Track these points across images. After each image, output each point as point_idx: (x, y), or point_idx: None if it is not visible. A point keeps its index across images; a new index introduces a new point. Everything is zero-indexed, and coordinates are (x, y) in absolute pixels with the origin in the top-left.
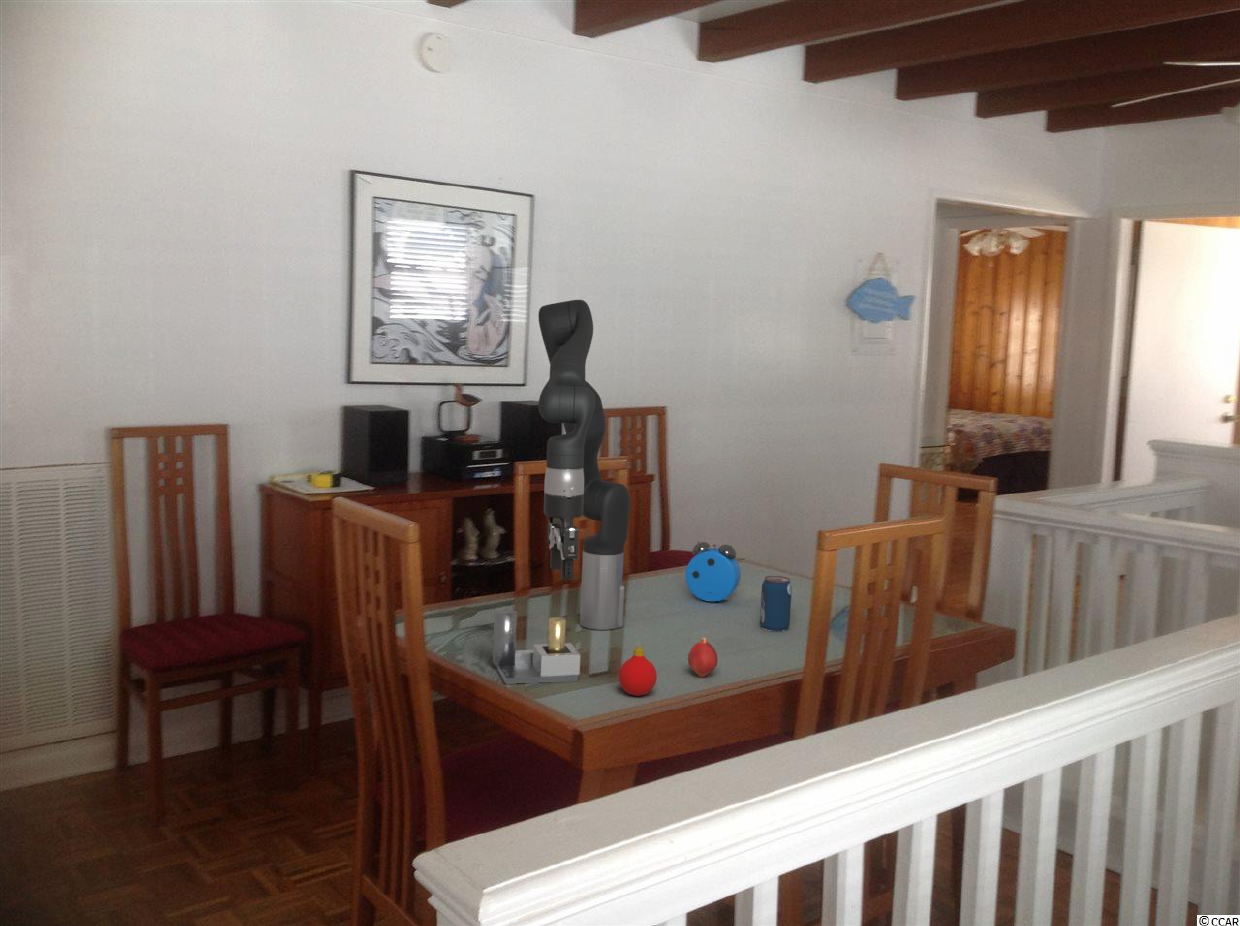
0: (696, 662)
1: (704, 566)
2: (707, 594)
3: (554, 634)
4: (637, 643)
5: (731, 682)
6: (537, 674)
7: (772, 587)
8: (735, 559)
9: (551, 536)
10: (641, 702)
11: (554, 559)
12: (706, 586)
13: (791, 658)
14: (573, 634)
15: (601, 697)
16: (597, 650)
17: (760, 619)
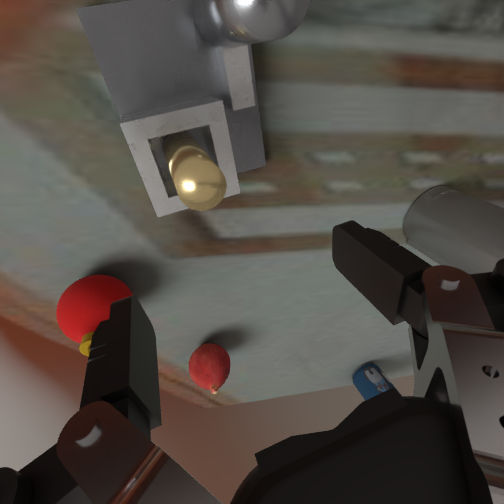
0: (191, 362)
1: None
2: None
3: (172, 169)
4: (88, 356)
5: (187, 371)
6: (136, 107)
7: None
8: None
9: (460, 402)
10: (59, 297)
11: (363, 261)
12: None
13: (274, 396)
14: (400, 176)
15: (62, 238)
16: (319, 216)
17: (371, 370)
